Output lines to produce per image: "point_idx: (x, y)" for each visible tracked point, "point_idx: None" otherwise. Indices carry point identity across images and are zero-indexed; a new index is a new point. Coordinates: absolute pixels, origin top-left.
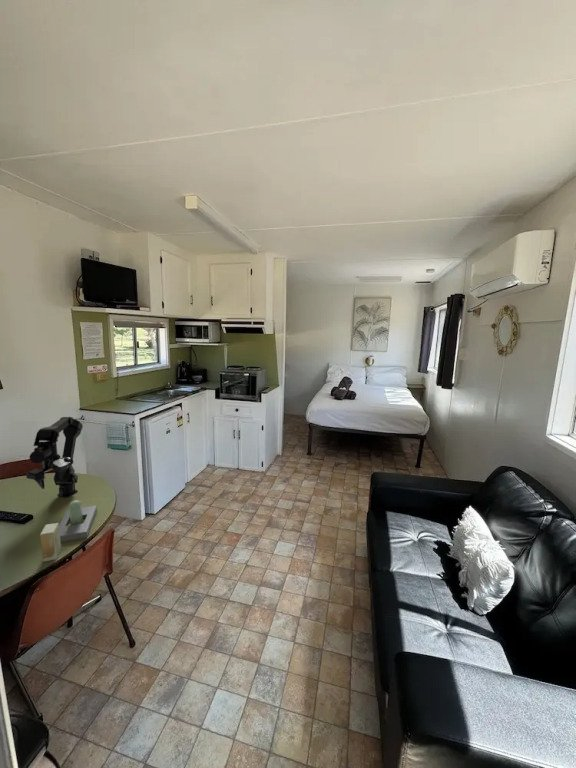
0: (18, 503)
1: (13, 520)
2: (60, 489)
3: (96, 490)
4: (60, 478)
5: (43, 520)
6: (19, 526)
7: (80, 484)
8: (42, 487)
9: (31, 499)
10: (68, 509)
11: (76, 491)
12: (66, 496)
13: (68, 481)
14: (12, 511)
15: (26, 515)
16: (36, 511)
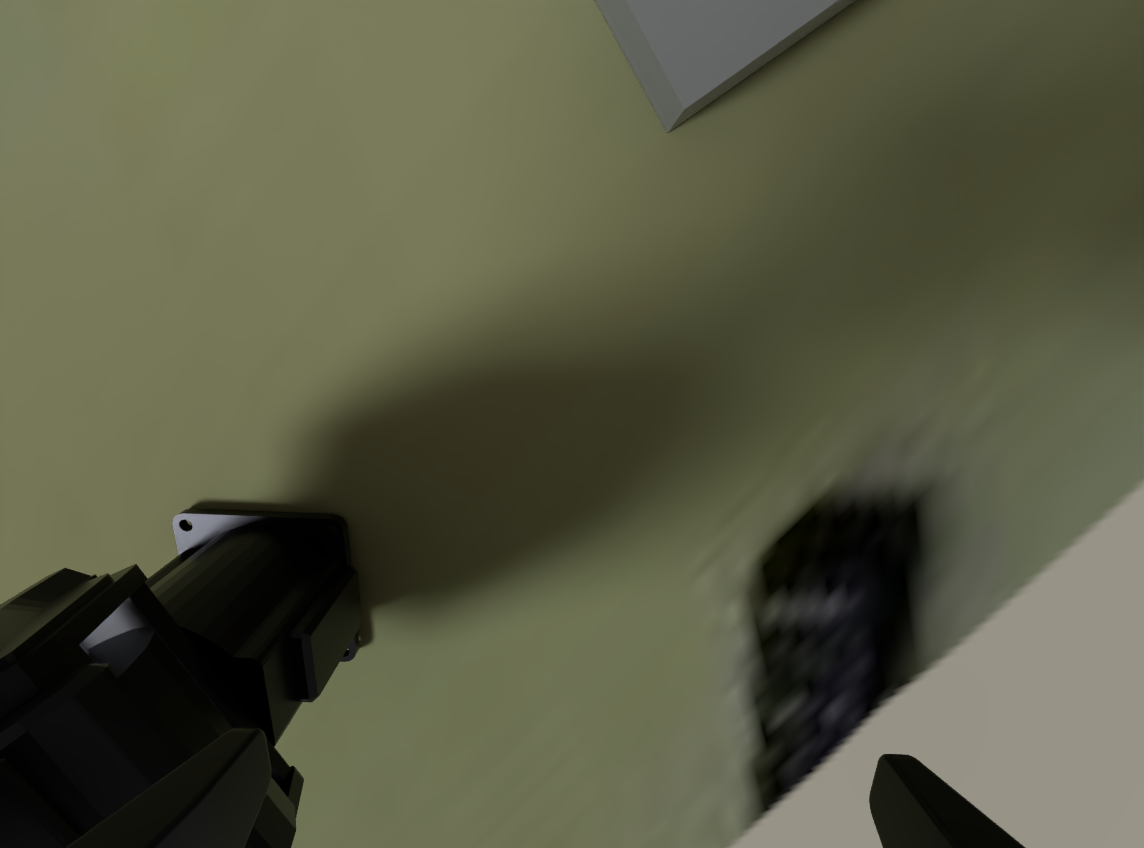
0: (615, 844)
1: (880, 650)
2: (318, 662)
3: (27, 291)
4: (251, 812)
5: (832, 353)
6: (975, 504)
7: None
8: (962, 822)
9: (520, 805)
10: (677, 92)
11: (197, 513)
12: (341, 528)
13: (152, 648)
14: (743, 783)
15: (777, 614)
16: (689, 586)
